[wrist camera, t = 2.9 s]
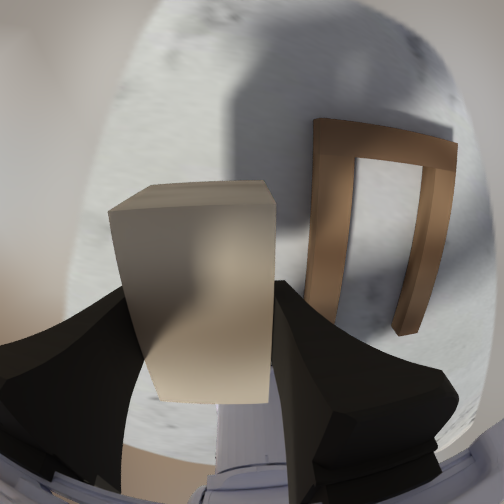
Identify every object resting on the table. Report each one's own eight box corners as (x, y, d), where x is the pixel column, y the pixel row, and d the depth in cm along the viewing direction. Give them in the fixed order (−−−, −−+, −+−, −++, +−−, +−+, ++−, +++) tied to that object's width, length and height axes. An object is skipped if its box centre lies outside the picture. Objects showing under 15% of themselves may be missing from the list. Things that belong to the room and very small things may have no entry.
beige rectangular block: (261, 341, 14) (268, 402, 10) (175, 341, 13) (160, 400, 10) (263, 180, 10) (276, 204, 7) (151, 185, 10) (107, 211, 7)
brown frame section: (409, 322, 20) (417, 332, 19) (299, 335, 20) (303, 348, 19) (444, 141, 14) (457, 143, 13) (313, 119, 14) (320, 117, 13)
